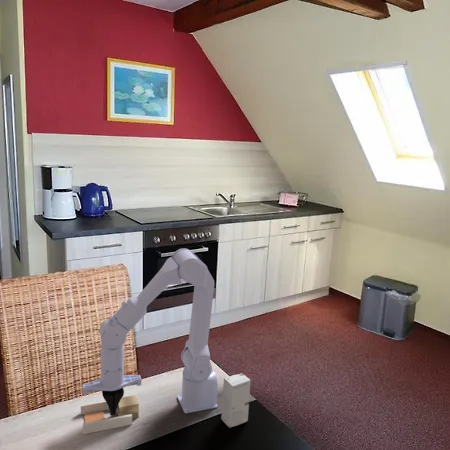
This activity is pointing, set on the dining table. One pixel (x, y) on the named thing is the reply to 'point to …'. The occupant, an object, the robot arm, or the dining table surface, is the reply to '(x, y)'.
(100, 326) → the robot arm
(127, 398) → the block
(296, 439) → the dining table surface
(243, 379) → the skincare box
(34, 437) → the dining table surface
